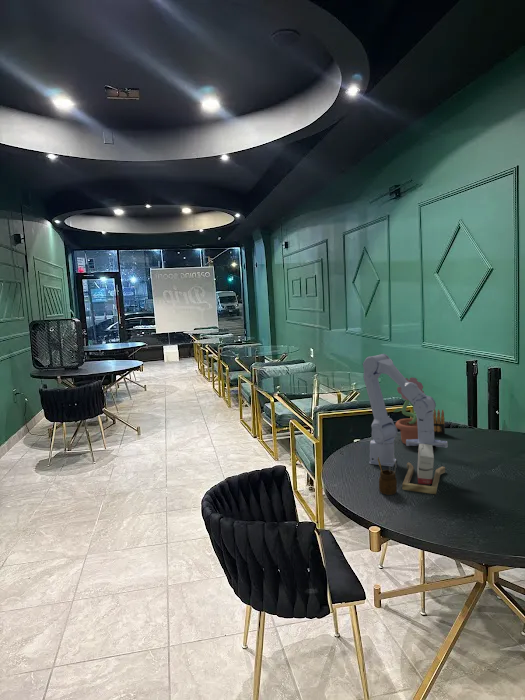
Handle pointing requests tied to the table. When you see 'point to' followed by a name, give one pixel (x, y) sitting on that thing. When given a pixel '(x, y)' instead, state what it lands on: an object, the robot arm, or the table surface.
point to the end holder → (421, 488)
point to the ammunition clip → (438, 422)
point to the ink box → (425, 464)
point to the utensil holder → (387, 481)
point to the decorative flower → (408, 425)
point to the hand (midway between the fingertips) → (427, 464)
